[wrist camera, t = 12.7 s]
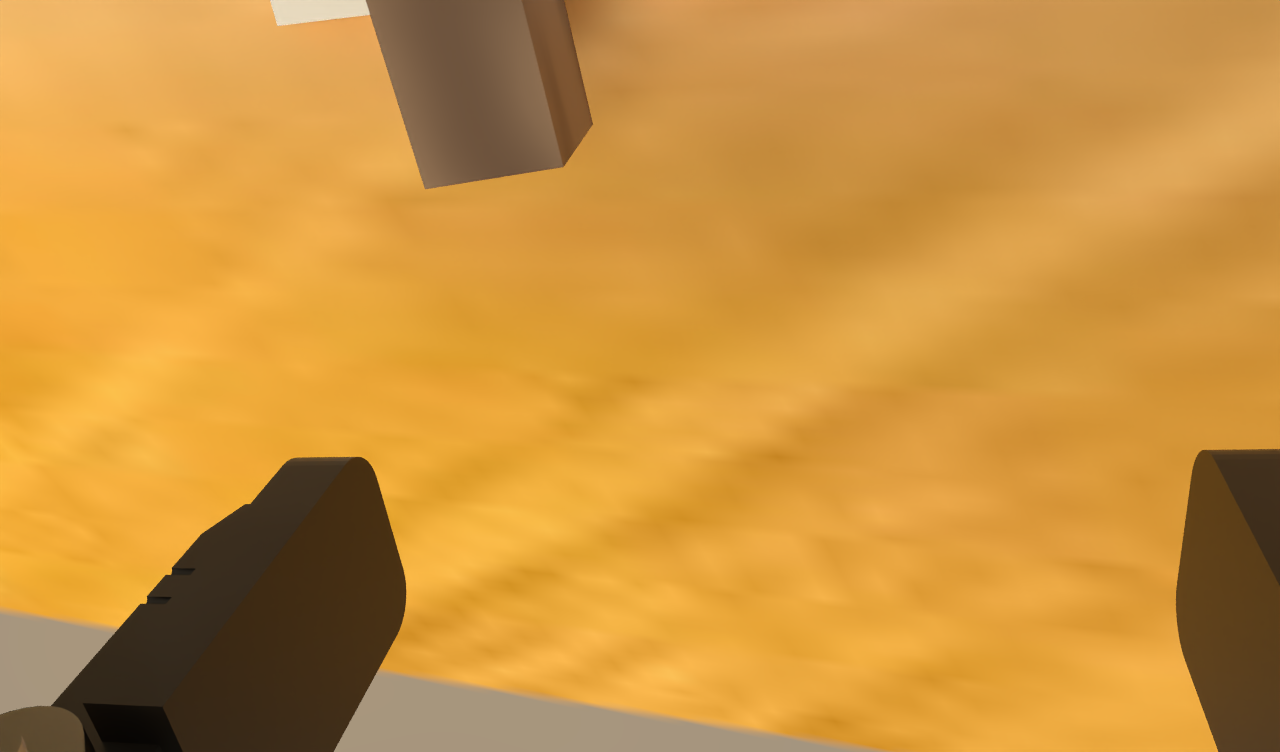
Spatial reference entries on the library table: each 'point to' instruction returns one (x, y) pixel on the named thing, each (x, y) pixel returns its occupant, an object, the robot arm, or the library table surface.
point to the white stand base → (316, 10)
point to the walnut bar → (483, 85)
